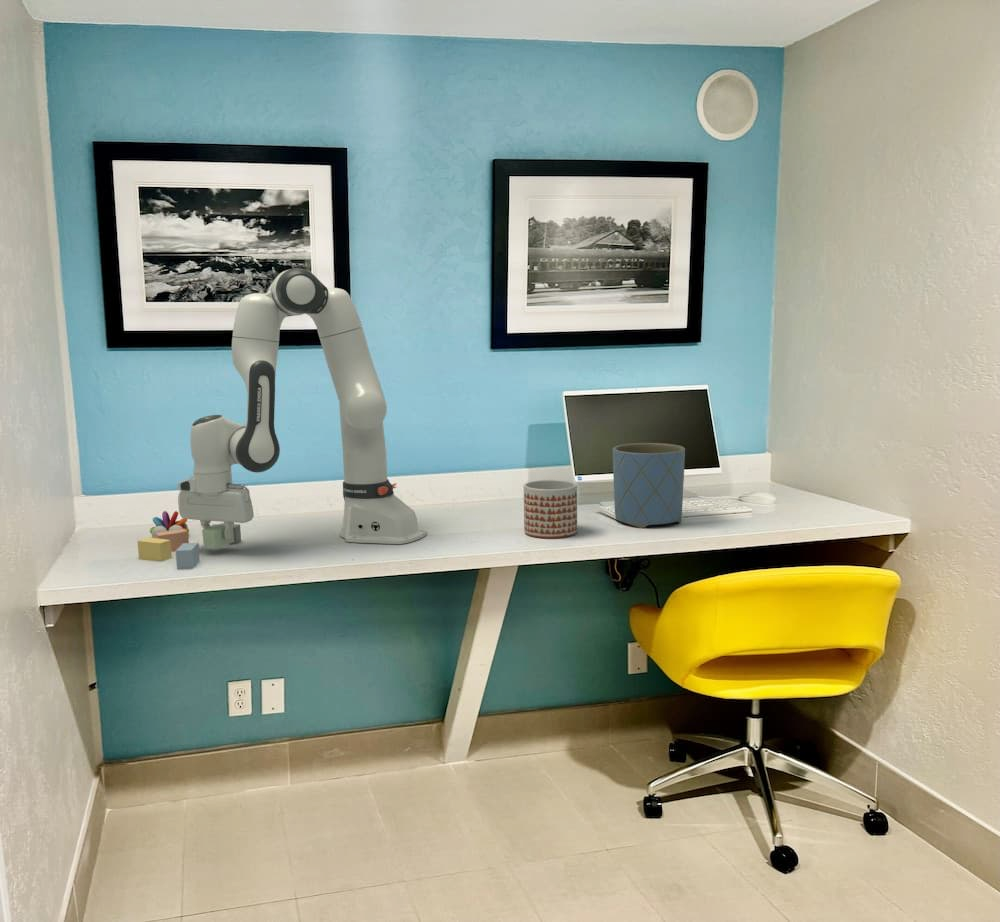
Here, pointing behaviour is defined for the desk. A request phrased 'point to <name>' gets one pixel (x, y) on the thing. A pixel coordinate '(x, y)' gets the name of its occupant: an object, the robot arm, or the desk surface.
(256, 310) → the robot arm
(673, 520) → the planter
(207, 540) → the sage brick
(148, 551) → the ochre brick
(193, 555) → the slate brick
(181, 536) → the terracotta brick
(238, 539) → the charcoal brick
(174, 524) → the multicolored fanned-prong toy
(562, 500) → the vase
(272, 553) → the desk surface
